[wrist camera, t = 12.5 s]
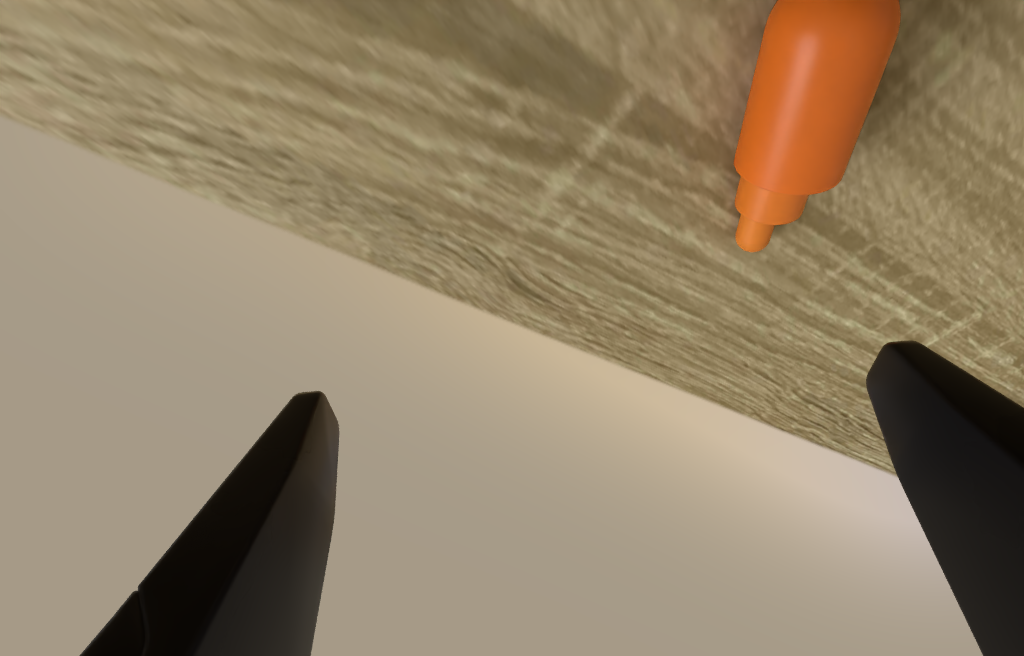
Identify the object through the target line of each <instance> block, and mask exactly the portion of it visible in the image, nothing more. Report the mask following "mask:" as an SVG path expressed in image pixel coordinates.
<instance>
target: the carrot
mask: <svg viewBox="0 0 1024 656" xmlns="http://www.w3.org/2000/svg"><path fill="white" fill-rule="evenodd" d="M900 18H901V13H900V4H899V0H778V1H777V2H776V4H775V5H774V7H773V9H772V11H771V13H770V15H769V17H768V20H767V23H766V26H765V30H764V35H763V39H762V43H761V47H760V52H759V56H758V60H757V64H756V69H755V73H754V77H753V82H752V86H751V90H750V94H749V99H748V103H747V107H746V111H745V116H744V120H743V124H742V129H741V133H740V137H739V141H738V146H737V150H736V154H735V159H734V166H735V169H736V170H737V172H738V173H739V175H740V176H741V177H740V181H739V186H738V190H737V194H736V198H735V206H736V208H737V210H738V211H739V213H741V216H740V220H739V224H738V227H737V231H736V241H737V244H738V245H739V246H740V248H742V249H743V250H745V251H748V252H756V251H760V250H762V249H763V248H765V247H766V246H767V244H768V243H769V241H770V238H771V235H772V232H773V229H774V225H782V224H787V223H791V222H793V221H795V220H797V219H798V218H799V217H800V216H801V215H802V213H803V210H804V207H805V204H806V201H807V198H808V196H809V195H810V194H817V193H821V192H824V191H827V190H829V189H831V188H833V187H835V186H836V185H837V184H838V183H839V182H840V181H841V179H842V177H843V175H844V172H845V170H846V167H847V165H848V162H849V159H850V157H851V154H852V152H853V149H854V147H855V144H856V141H857V139H858V136H859V134H860V131H861V129H862V126H863V123H864V121H865V118H866V116H867V113H868V111H869V108H870V106H871V103H872V100H873V98H874V95H875V93H876V90H877V88H878V85H879V82H880V80H881V77H882V75H883V72H884V70H885V67H886V65H887V62H888V59H889V57H890V54H891V52H892V49H893V47H894V44H895V41H896V38H897V35H898V31H899V26H900Z"/></svg>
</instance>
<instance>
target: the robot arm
mask: <svg viewBox="0 0 1024 656" xmlns="http://www.w3.org/2000/svg"><path fill="white" fill-rule="evenodd" d="M866 386H867V390H868V394H869V396H870V399H871V402H872V405H873V408H874V411H875V414H876V417H877V420H878V423H879V425H880V428H881V431H882V434H883V437H884V440H885V443H886V446H887V449H888V452H889V454H890V457H891V460H892V463H893V465H894V468H895V471H896V473H897V476H898V478H899V480H900V482H901V484H902V487H903V489H904V491H905V493H906V495H907V497H908V499H909V501H910V504H911V506H912V508H913V510H914V512H915V514H916V516H917V518H918V520H919V522H920V524H921V527H922V529H923V531H924V532H925V535H926V537H927V539H928V541H929V543H930V545H931V547H932V550H933V551H934V554H935V556H936V558H937V560H938V562H939V564H940V566H941V568H942V570H943V573H944V575H945V577H946V579H947V581H948V583H949V585H950V587H951V589H952V591H953V593H954V596H955V598H956V600H957V602H958V604H959V606H960V608H961V610H962V612H963V614H964V616H965V618H966V621H967V623H968V625H969V627H970V629H971V631H972V633H973V635H974V637H975V639H976V641H977V643H978V646H979V648H980V650H981V652H982V654H983V656H1024V408H1023V407H1022V406H1020V405H1018V404H1017V403H1015V402H1014V401H1012V400H1010V399H1009V398H1007V397H1006V396H1004V395H1002V394H1001V393H999V392H998V391H996V390H994V389H993V388H991V387H990V386H988V385H986V384H985V383H983V382H982V381H980V380H978V379H977V378H975V377H974V376H972V375H970V374H969V373H967V372H966V371H964V370H962V369H961V368H959V367H958V366H956V365H954V364H953V363H951V362H950V361H948V360H946V359H945V358H943V357H942V356H940V355H938V354H937V353H935V352H934V351H932V350H930V349H929V348H927V347H925V346H924V345H922V344H920V343H919V342H916V341H897V342H889V343H887V344H885V345H884V346H883V347H882V349H881V351H880V352H879V354H878V356H877V358H876V360H875V361H874V363H873V365H872V367H871V369H870V371H869V372H868V375H867V379H866ZM338 445H339V425H338V421H337V419H336V417H335V415H334V412H333V410H332V408H331V406H330V404H329V402H328V400H327V398H326V396H325V395H324V393H322V392H320V391H314V392H302V393H298V394H296V395H295V396H294V397H293V398H292V399H291V400H290V401H289V402H288V404H287V405H286V406H285V407H284V408H283V410H282V411H281V412H280V413H279V415H278V416H277V417H276V418H275V419H274V421H273V422H272V423H271V424H270V426H269V427H268V428H267V429H266V431H265V432H264V433H263V434H262V435H261V437H260V438H259V439H258V440H257V441H256V443H255V444H254V445H253V446H252V448H251V449H250V450H249V451H248V453H247V454H246V455H245V456H244V457H243V459H242V460H241V461H240V462H239V463H238V465H237V466H236V467H235V468H234V470H233V471H232V472H231V473H230V474H229V476H228V477H227V478H226V479H225V481H224V482H223V483H222V484H221V485H220V487H219V488H218V489H217V490H216V492H215V493H214V494H213V495H212V496H211V498H210V499H209V500H208V501H207V503H206V504H205V505H204V506H203V508H202V509H201V510H200V511H199V513H198V514H197V515H196V516H195V517H194V518H193V520H192V521H191V522H190V523H189V525H188V526H187V527H186V528H185V529H184V531H183V532H182V533H181V535H180V536H179V537H178V538H177V539H176V540H175V542H174V543H173V544H172V545H171V547H170V548H169V549H168V550H167V551H166V553H165V554H164V555H163V556H162V558H161V559H160V560H159V561H158V562H157V564H156V565H155V566H154V567H153V569H152V570H151V571H150V572H149V573H148V575H147V576H146V577H145V578H144V580H143V581H142V582H141V583H140V584H139V586H138V591H134V592H133V593H132V594H131V595H130V596H129V598H128V599H127V600H126V601H125V603H124V604H123V605H122V606H121V607H120V609H119V610H118V611H117V612H116V614H115V615H114V616H113V617H112V618H111V620H110V621H109V622H108V623H107V624H106V625H105V627H104V628H103V629H102V630H101V631H100V632H99V634H98V635H97V636H96V637H95V638H94V640H93V641H92V642H91V643H90V644H89V645H88V646H87V648H86V649H85V650H84V651H83V652H82V654H81V655H80V656H310V655H311V650H312V644H313V639H314V632H315V627H316V622H317V616H318V610H319V604H320V599H321V593H322V587H323V582H324V576H325V570H326V565H327V559H328V553H329V548H330V542H331V536H332V530H333V523H334V514H335V500H336V499H335V498H336V482H337V464H338V447H339V446H338Z"/></svg>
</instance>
